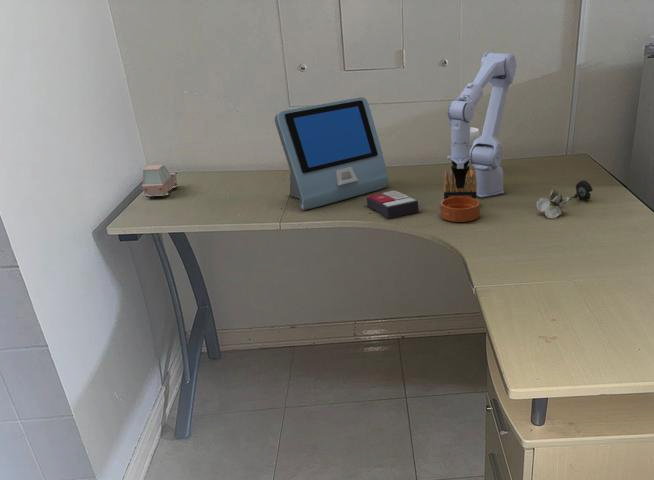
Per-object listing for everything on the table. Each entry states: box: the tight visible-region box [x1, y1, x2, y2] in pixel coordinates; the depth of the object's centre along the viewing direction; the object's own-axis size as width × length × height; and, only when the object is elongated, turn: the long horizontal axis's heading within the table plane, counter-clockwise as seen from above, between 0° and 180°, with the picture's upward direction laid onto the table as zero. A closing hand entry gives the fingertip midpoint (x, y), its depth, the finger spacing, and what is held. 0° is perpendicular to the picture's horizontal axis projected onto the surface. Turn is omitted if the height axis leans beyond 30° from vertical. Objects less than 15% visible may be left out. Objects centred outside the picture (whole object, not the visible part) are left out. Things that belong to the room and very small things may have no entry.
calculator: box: [366, 190, 419, 219], centre depth 205 cm, size 11×4×15 cm
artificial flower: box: [536, 180, 593, 219], centre depth 201 cm, size 9×22×10 cm, turn 129°
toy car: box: [141, 164, 178, 197], centre depth 226 cm, size 9×15×10 cm, turn 1°
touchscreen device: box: [274, 97, 389, 211], centre depth 214 cm, size 35×20×30 cm, turn 131°
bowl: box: [439, 196, 481, 223], centre depth 197 cm, size 12×12×4 cm
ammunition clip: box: [443, 169, 478, 200], centre depth 204 cm, size 11×2×12 cm, turn 87°
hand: (460, 185), depth 203 cm, fingers open, 5 cm apart
